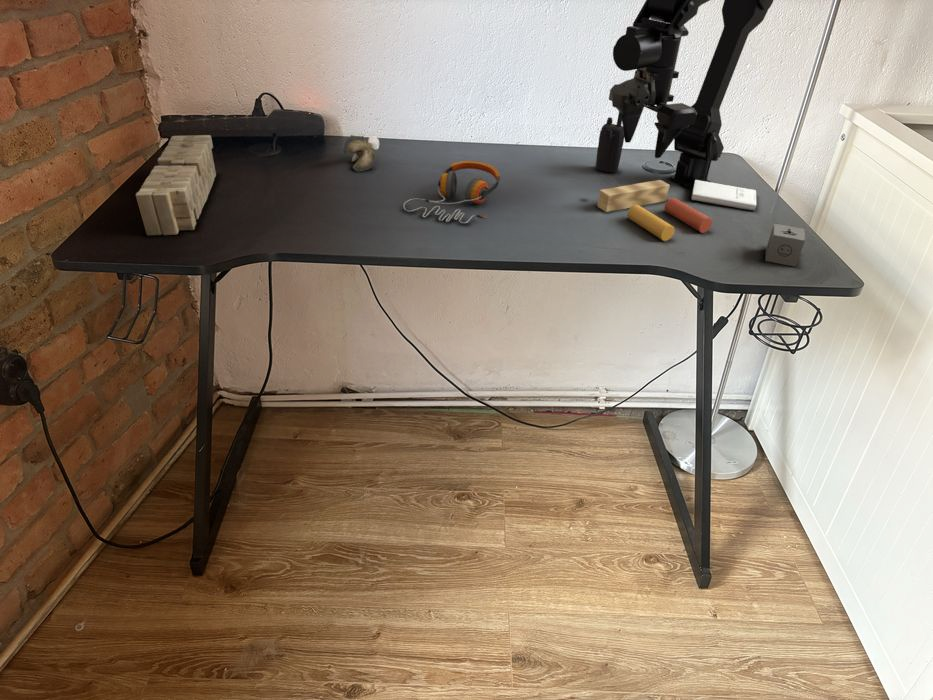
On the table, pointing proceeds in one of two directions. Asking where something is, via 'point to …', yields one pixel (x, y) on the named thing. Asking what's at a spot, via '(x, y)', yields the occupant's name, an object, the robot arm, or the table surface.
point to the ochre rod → (651, 222)
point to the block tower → (177, 186)
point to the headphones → (474, 189)
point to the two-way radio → (610, 146)
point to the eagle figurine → (361, 151)
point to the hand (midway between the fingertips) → (642, 149)
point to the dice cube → (785, 245)
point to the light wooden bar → (633, 195)
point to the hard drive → (724, 195)
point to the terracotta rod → (688, 215)
